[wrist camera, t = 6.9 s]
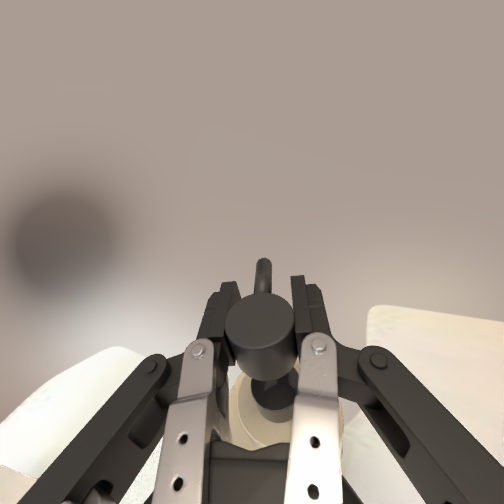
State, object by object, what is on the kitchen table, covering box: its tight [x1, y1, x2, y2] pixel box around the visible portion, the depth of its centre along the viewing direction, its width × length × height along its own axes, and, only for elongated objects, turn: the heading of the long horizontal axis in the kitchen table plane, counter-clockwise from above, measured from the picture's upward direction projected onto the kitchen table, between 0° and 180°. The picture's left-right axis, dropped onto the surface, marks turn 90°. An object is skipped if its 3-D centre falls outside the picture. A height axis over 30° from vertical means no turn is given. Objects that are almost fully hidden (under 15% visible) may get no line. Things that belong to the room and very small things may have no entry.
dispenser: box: [229, 357, 343, 462], centre depth 17 cm, size 7×7×16 cm
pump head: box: [225, 258, 298, 381], centre depth 12 cm, size 6×3×4 cm, turn 176°
